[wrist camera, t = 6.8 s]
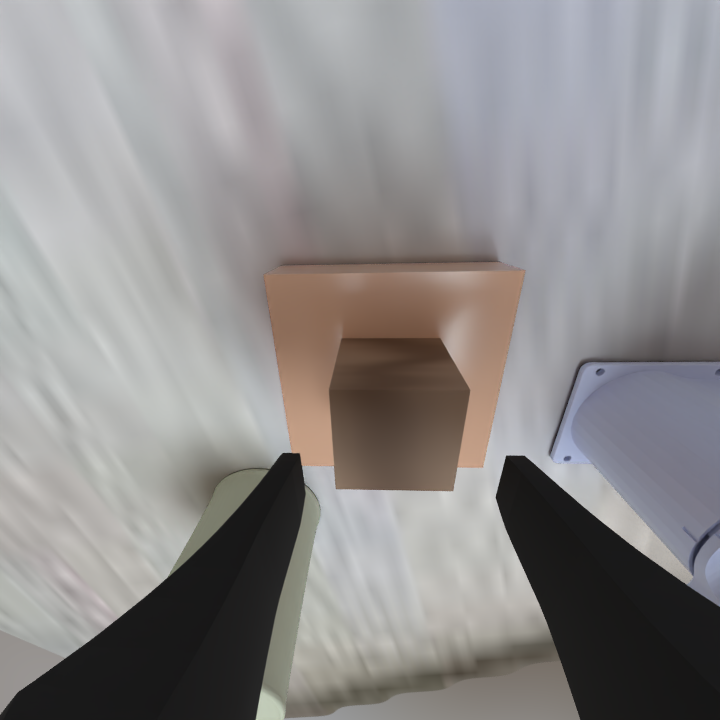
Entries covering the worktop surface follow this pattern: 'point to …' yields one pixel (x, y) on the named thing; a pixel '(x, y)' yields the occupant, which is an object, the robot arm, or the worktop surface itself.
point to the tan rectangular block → (389, 334)
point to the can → (291, 598)
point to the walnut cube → (396, 414)
